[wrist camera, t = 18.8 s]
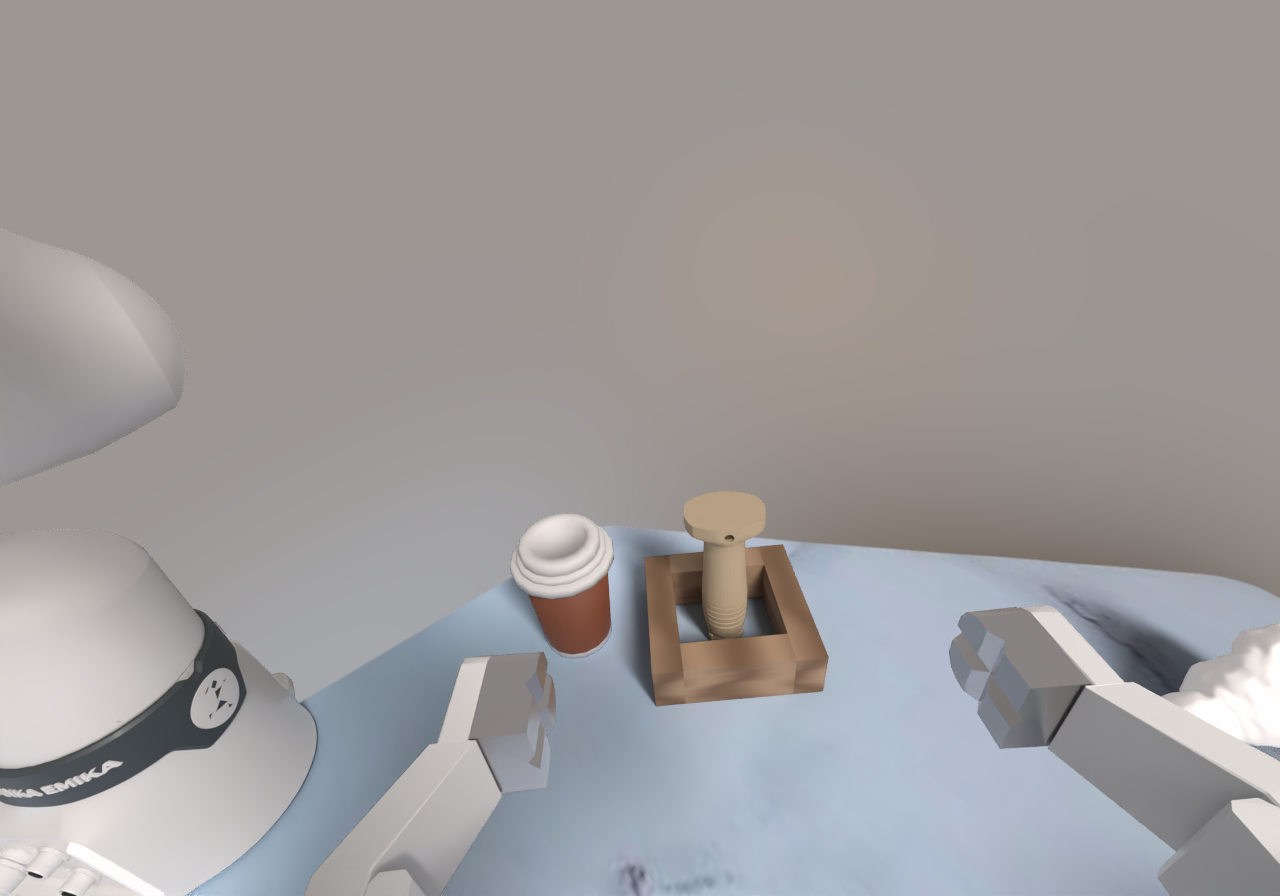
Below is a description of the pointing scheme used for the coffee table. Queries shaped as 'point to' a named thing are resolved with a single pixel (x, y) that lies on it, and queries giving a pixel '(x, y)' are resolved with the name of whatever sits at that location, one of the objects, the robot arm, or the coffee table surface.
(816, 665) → the socket block
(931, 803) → the coffee table surface
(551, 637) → the coffee cup
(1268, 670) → the white lumpy rounded piece
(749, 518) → the handle
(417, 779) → the robot arm
